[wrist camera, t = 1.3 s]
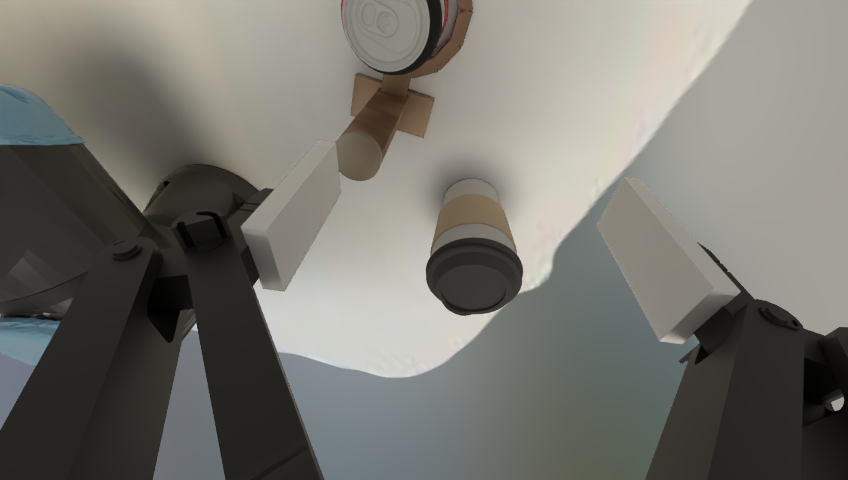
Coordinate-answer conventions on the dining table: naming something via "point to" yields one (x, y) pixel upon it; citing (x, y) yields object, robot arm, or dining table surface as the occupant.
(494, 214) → the coffee cup
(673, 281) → the robot arm
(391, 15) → the beverage can
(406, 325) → the dining table surface
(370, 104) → the ring holder
